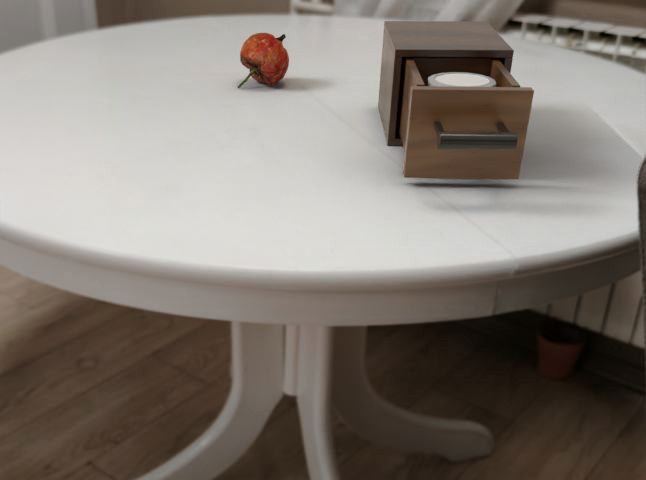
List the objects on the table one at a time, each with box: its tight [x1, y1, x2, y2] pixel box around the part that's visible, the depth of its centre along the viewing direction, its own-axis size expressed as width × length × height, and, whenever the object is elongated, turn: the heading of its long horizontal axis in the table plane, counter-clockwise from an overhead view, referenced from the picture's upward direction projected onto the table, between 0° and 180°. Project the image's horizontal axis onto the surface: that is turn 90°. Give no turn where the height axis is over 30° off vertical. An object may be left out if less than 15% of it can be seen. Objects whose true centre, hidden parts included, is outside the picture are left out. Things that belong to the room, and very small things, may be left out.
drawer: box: [398, 57, 535, 180], centre depth 82 cm, size 20×11×9 cm, turn 177°
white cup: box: [428, 72, 496, 87], centre depth 84 cm, size 7×7×7 cm
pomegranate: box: [237, 32, 290, 89], centre depth 113 cm, size 7×7×10 cm
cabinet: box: [377, 20, 515, 147], centre depth 96 cm, size 16×13×11 cm
